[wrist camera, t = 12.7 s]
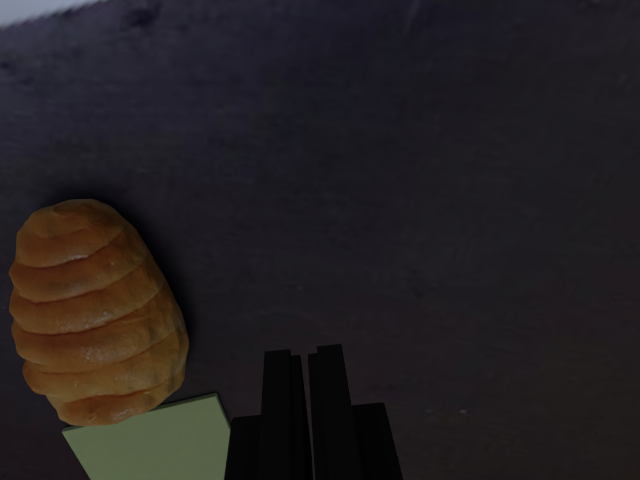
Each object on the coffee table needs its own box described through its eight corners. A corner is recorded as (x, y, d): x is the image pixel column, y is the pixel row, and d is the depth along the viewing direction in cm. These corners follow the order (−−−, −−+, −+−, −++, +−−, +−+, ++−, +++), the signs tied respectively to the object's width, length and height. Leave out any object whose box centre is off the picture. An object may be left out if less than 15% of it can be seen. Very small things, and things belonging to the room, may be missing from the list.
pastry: (-9, 203, 20) (-70, 241, 17) (157, 183, 20) (131, 217, 17) (64, 385, 24) (27, 447, 20) (203, 367, 24) (190, 426, 21)
